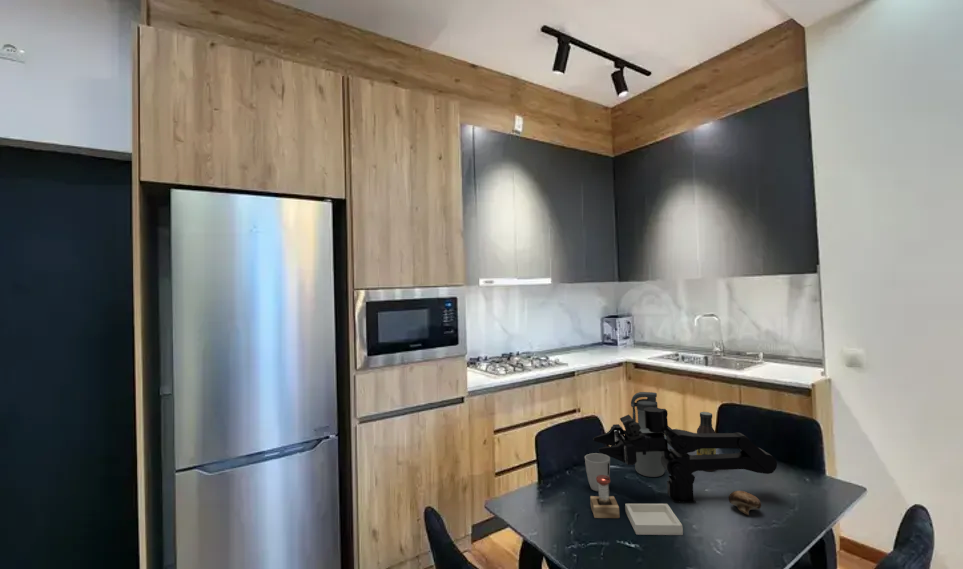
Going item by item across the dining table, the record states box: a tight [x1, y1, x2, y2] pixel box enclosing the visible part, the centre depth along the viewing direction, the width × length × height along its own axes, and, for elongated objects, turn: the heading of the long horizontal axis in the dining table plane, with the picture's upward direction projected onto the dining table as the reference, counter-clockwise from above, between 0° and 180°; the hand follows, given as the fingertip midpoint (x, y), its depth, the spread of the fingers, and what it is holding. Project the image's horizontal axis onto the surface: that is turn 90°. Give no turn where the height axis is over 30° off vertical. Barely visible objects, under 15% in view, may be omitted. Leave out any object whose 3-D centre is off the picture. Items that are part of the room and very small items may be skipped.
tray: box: [624, 503, 684, 536], centre depth 123 cm, size 12×12×2 cm
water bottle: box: [630, 391, 666, 478], centre depth 157 cm, size 10×10×28 cm
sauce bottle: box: [696, 411, 717, 472], centre depth 158 cm, size 7×6×20 cm
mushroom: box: [728, 490, 762, 516], centre depth 127 cm, size 8×8×6 cm
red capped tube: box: [596, 475, 611, 505], centre depth 130 cm, size 4×4×10 cm
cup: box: [584, 452, 611, 492], centre depth 146 cm, size 8×8×10 cm
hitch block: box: [589, 495, 620, 519], centre depth 130 cm, size 7×7×3 cm
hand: (596, 444), depth 139 cm, fingers open, 9 cm apart
